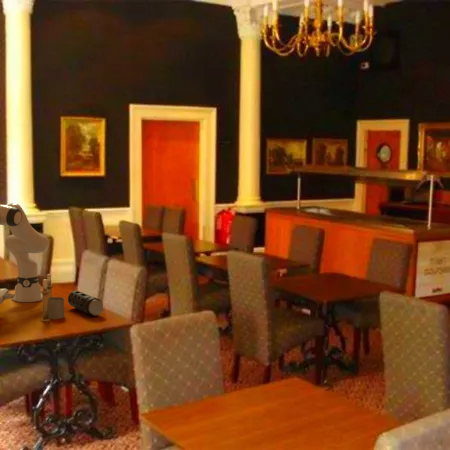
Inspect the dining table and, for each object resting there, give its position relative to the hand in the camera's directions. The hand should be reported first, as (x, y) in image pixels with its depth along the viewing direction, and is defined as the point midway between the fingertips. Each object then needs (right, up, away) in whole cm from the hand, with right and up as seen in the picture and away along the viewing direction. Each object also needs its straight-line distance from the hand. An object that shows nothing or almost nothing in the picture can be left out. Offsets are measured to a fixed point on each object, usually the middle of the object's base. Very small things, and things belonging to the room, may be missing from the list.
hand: (14, 296), depth 367 cm
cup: (+21, -12, +3) cm, 24 cm away
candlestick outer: (+18, -12, -5) cm, 22 cm away
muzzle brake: (+35, -11, +14) cm, 39 cm away
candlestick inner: (+16, -11, +10) cm, 22 cm away
